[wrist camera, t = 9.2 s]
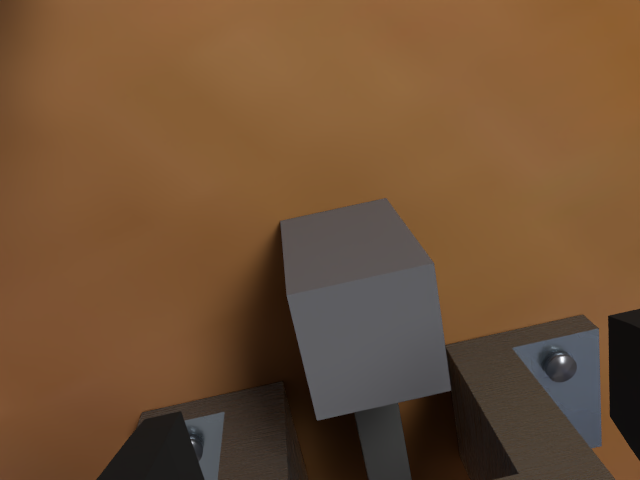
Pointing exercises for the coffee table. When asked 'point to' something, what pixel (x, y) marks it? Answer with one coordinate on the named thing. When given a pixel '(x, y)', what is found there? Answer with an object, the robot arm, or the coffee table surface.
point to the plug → (365, 323)
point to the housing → (468, 403)
